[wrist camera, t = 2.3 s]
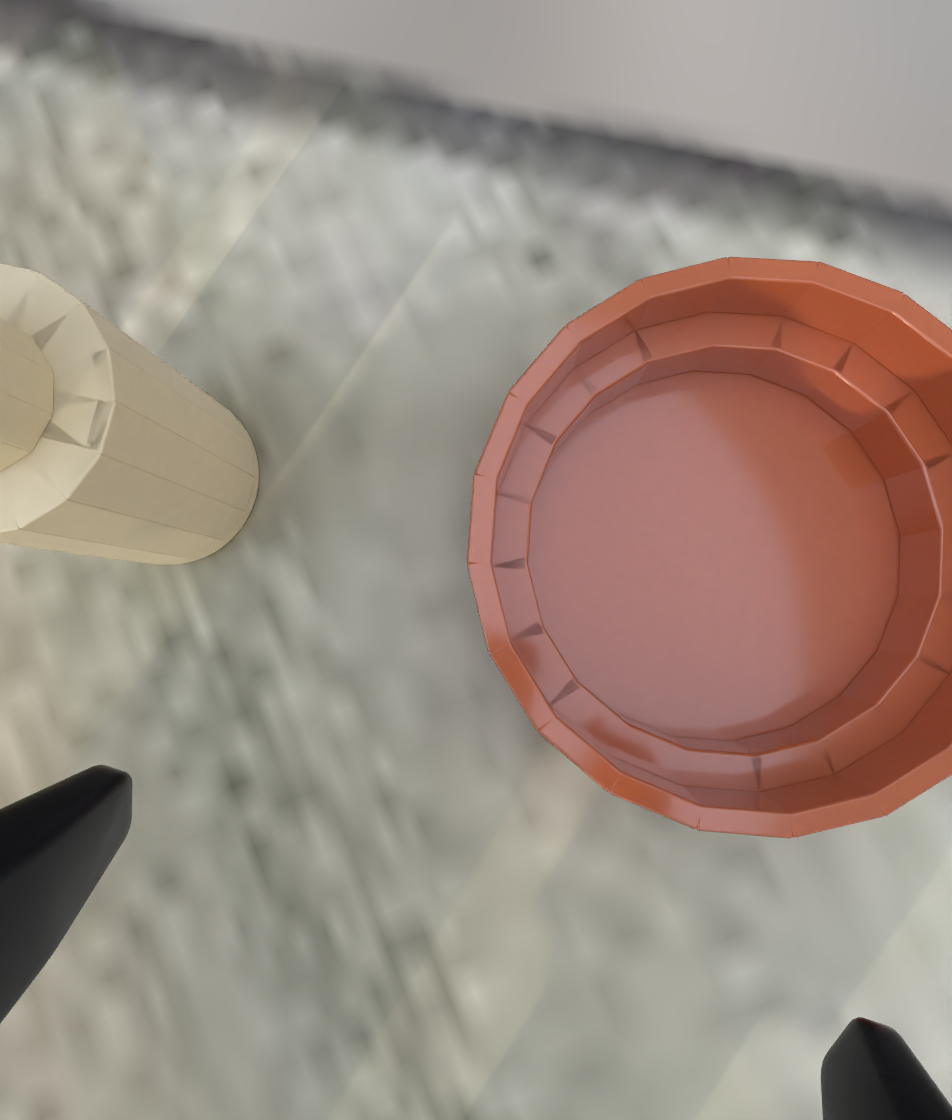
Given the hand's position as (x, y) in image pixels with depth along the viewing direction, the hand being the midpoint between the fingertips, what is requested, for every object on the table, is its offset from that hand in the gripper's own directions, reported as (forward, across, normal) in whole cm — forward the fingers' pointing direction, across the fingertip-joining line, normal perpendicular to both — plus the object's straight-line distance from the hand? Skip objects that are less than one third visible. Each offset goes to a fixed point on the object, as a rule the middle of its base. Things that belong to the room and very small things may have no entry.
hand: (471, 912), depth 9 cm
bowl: (+16, -4, +1) cm, 17 cm away
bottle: (+14, +12, +3) cm, 19 cm away
